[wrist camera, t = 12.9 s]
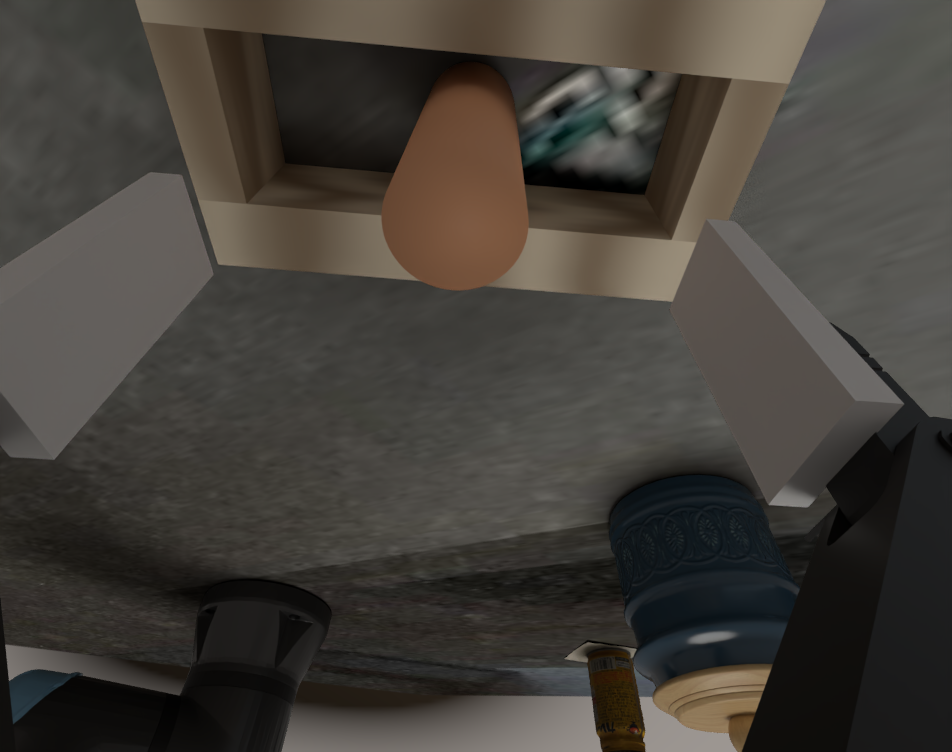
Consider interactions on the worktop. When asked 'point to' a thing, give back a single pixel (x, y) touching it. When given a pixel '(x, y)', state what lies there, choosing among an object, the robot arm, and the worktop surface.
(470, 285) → the peg
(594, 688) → the condiment
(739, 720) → the canister
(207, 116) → the socket block
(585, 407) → the worktop surface
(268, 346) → the worktop surface
